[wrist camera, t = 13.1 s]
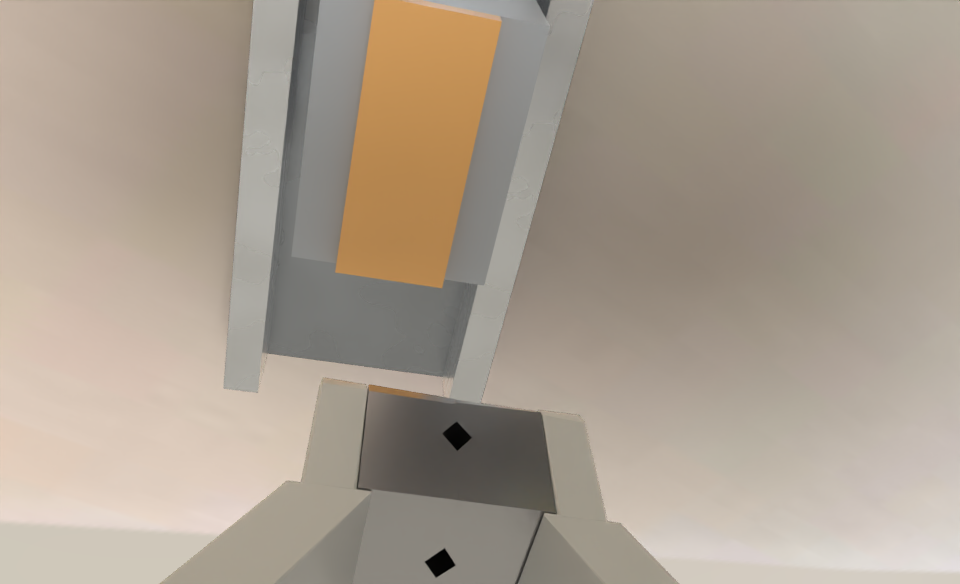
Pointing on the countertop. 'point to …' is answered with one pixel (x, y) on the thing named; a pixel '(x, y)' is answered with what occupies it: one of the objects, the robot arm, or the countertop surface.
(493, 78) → the module
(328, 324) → the rail
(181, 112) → the countertop surface
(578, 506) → the robot arm
